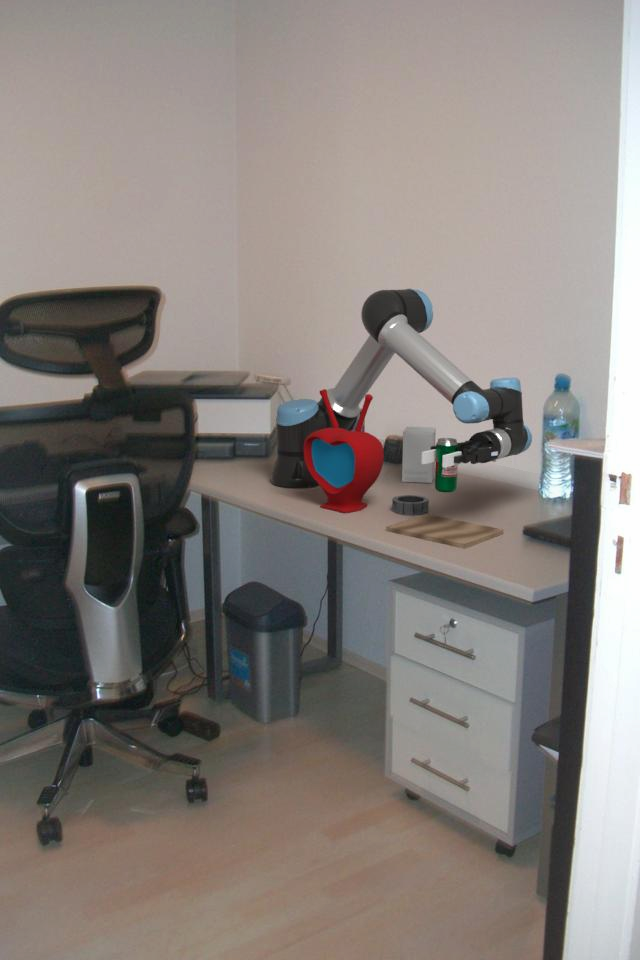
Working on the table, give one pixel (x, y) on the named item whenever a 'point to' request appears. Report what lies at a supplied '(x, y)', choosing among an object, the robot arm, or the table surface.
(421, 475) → the supplement box
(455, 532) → the walnut board
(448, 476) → the soda can
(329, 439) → the novelty television
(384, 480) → the table surface
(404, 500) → the sleeve
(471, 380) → the robot arm
